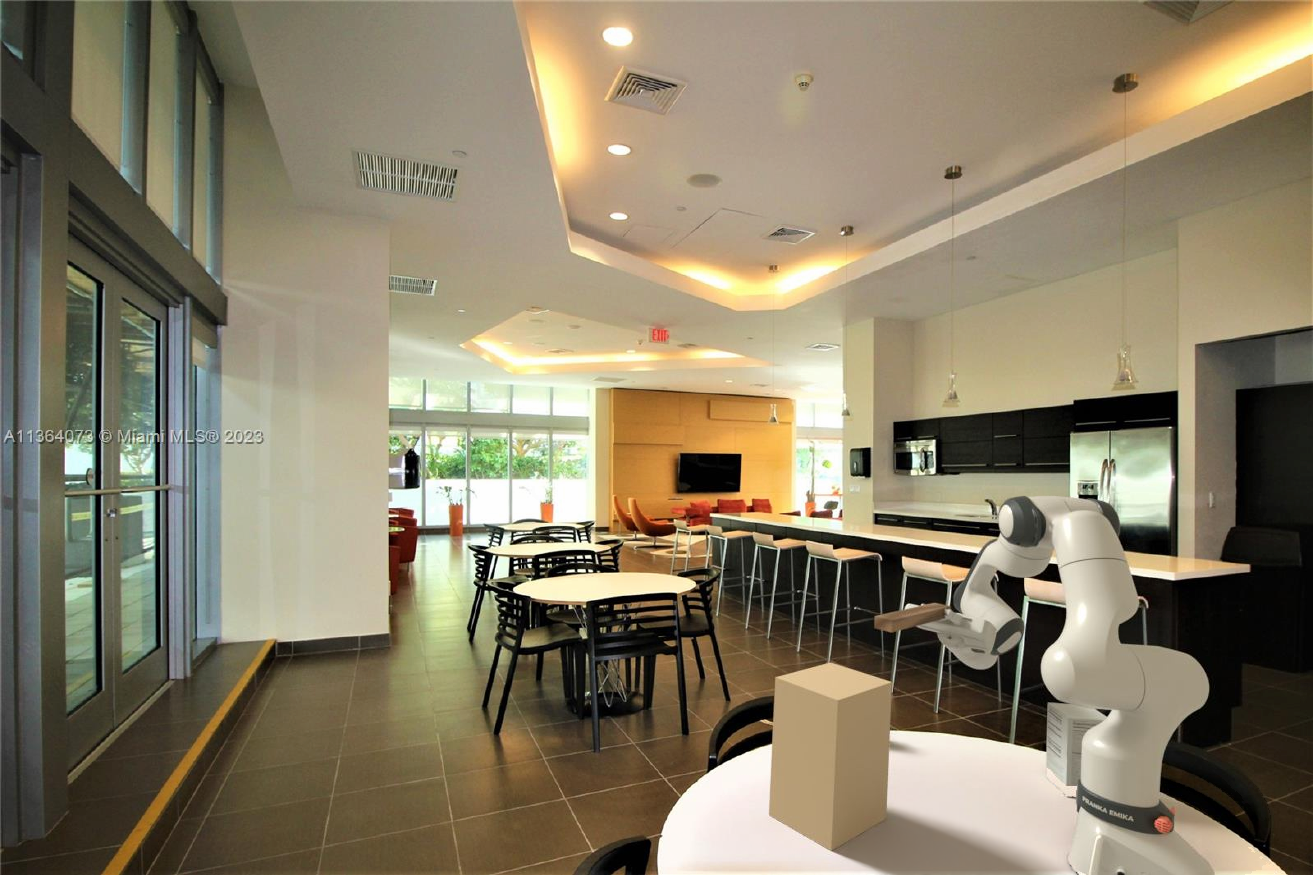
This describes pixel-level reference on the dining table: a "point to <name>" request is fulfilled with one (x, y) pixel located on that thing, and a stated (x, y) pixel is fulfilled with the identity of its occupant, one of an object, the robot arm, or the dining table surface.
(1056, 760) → the supplement box
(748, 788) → the dining table surface
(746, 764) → the dining table surface
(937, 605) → the slat
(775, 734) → the carton
